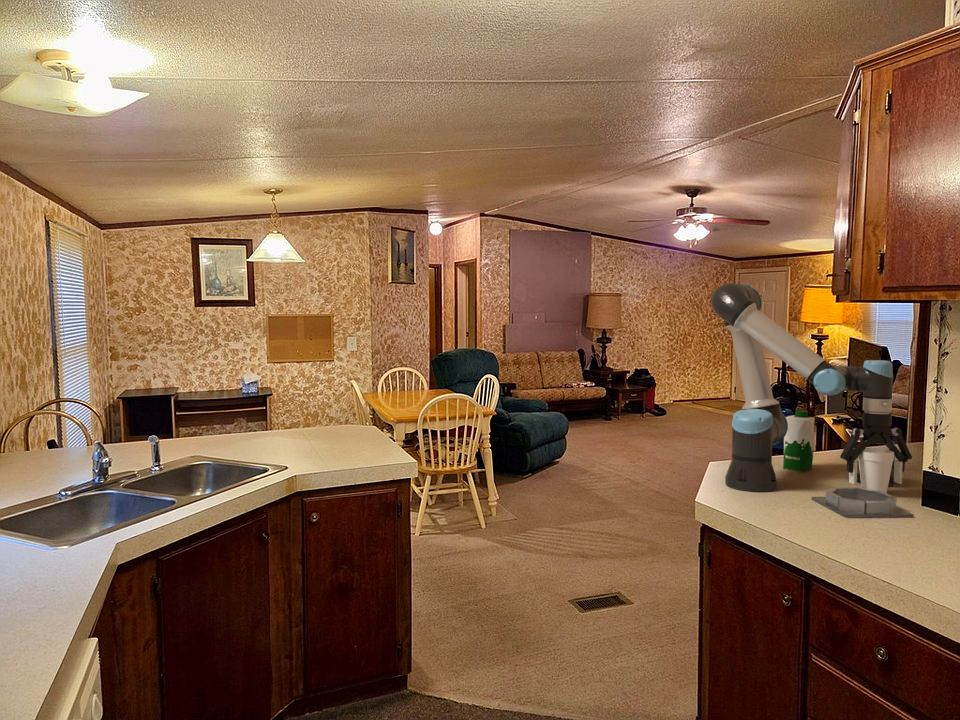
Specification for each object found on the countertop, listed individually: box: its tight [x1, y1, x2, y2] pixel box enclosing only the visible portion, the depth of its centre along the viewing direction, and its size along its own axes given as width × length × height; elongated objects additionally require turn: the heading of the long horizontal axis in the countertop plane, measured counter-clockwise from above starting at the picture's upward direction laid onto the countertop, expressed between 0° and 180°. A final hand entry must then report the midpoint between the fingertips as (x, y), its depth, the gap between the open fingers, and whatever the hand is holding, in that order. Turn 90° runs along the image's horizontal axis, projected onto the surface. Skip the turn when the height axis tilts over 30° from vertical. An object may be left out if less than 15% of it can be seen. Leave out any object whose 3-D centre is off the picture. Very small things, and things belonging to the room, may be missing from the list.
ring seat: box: [811, 486, 915, 519], centre depth 188 cm, size 18×18×4 cm
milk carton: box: [782, 409, 816, 473], centre depth 235 cm, size 9×9×20 cm
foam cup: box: [857, 447, 894, 494], centre depth 203 cm, size 10×9×13 cm
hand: (875, 483), depth 203 cm, fingers open, 13 cm apart
